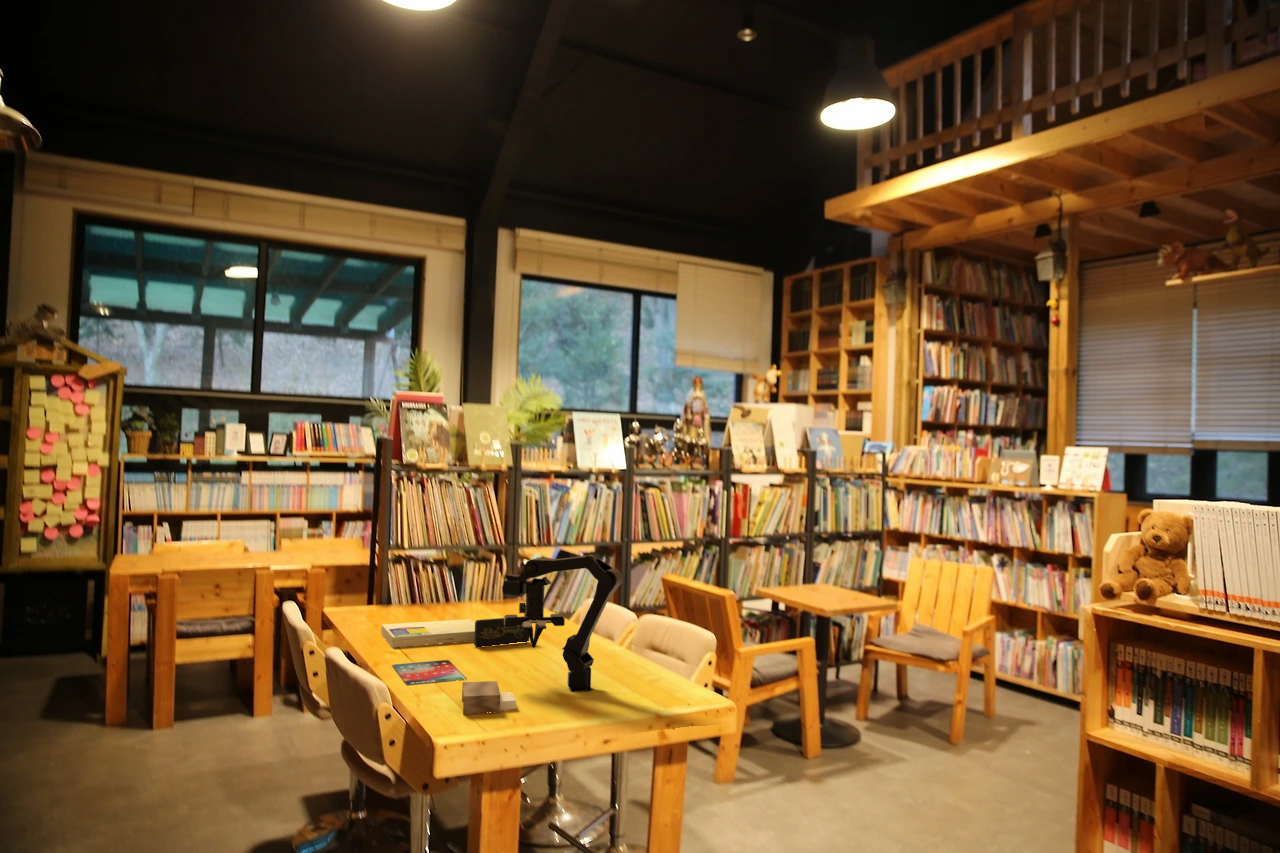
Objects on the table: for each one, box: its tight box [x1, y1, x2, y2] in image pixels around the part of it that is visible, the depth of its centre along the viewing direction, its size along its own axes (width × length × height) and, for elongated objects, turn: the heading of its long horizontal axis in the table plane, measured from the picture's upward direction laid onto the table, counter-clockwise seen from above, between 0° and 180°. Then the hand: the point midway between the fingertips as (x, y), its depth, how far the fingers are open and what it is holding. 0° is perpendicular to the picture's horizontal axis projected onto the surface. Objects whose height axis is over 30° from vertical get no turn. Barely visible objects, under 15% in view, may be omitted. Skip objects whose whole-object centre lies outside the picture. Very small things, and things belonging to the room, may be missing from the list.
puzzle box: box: [380, 618, 476, 649], centre depth 318 cm, size 36×5×24 cm
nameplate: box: [473, 615, 530, 648], centre depth 310 cm, size 21×2×10 cm, turn 119°
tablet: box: [392, 659, 467, 686], centre depth 269 cm, size 19×25×1 cm
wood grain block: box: [461, 680, 501, 715], centre depth 235 cm, size 10×14×5 cm
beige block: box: [500, 691, 517, 711], centre depth 235 cm, size 10×8×3 cm
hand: (533, 647), depth 261 cm, fingers closed
